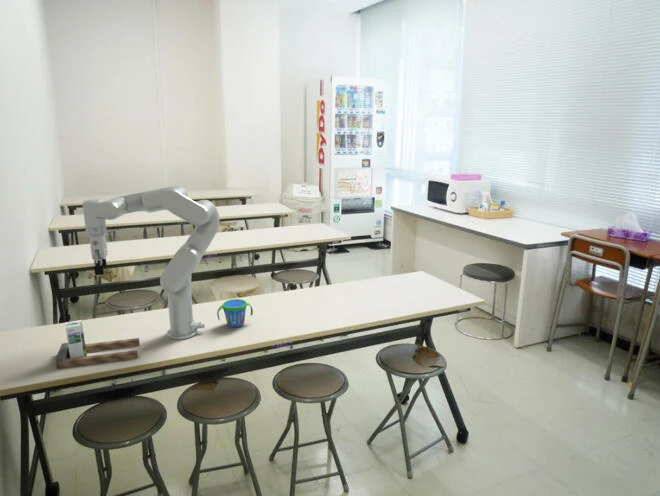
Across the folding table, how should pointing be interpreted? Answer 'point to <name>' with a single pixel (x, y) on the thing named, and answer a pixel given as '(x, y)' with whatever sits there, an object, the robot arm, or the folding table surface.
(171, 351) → the folding table surface
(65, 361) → the guide channel
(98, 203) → the robot arm
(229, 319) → the snack cup
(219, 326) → the folding table surface
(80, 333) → the syrup box
